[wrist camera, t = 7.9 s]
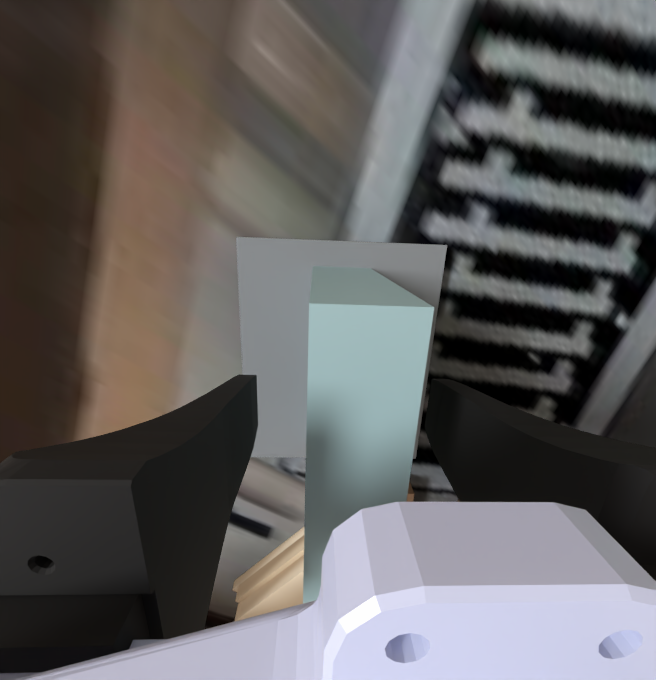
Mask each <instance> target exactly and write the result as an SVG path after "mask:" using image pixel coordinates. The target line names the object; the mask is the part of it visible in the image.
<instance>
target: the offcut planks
mask: <svg viewBox="0 0 656 680" xmlns="http://www.w3.org/2000/svg"><path fill="white" fill-rule="evenodd" d="M303 576H304V527H303V528H302V529H301V530H299V531H298V532H297V533H295V534H294V535H293V536H292V537H290V538H289V539H288V540H286V541H285V542H284V543H283V544H281V545H280V546H279V547H277V548H276V549H275V550H273V551H272V552H271V553H270V554H268V555H267V556H266V557H264V558H263V559H262V560H261V561H259V562H258V563H257V564H255V565H254V566H253V567H252V568H250V569H249V570H248V571H246V572H245V573H244V574H242V575H241V576H240V577H239V578H237V579H236V580H235V581H234V585H233V589H232V590H233V591H234V592H236V593H237V596H236V600H235V601H236V602H238V603H239V604H238V607H237V612H236V616H235V621H239V620H243V619H246V618H250V617H254V616H258V615H262V614H265V613H269V612H273V611H277V610H281V609H284V608H288V607H292V606H296V605H300V604H303ZM235 621H234V622H235Z"/></svg>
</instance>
